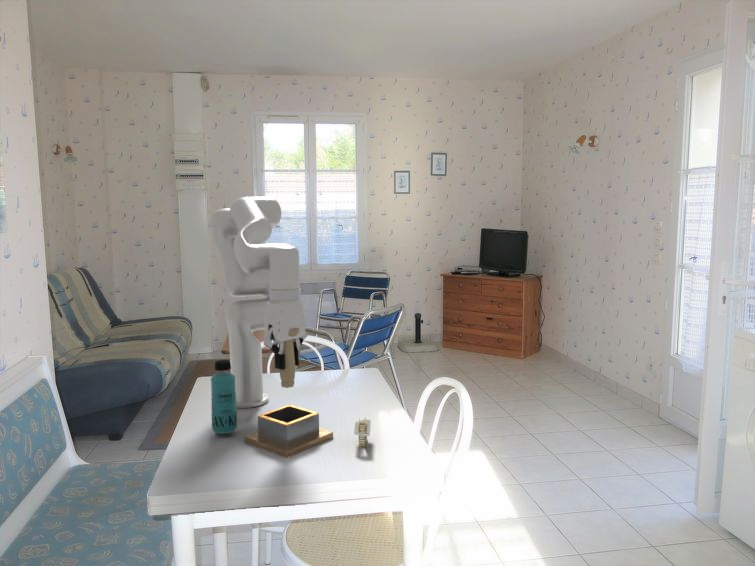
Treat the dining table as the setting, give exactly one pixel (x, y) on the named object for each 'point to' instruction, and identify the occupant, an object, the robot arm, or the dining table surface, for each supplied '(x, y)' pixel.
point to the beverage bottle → (223, 399)
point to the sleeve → (288, 431)
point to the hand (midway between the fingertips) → (287, 366)
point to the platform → (362, 431)
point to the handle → (289, 361)
